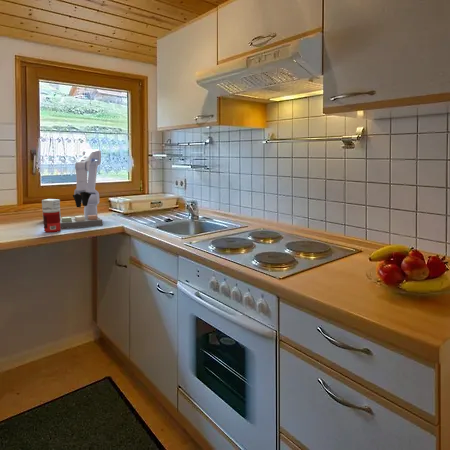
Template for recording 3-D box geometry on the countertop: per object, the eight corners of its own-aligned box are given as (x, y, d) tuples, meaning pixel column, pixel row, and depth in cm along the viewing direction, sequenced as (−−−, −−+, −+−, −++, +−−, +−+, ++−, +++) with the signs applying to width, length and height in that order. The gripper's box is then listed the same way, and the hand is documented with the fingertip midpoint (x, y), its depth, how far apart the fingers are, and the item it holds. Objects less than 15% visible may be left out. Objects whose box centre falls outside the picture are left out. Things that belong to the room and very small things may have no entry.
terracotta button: (87, 220, 227) (87, 215, 226) (95, 219, 229) (95, 214, 228) (89, 221, 223) (89, 216, 222) (97, 220, 225) (97, 215, 225)
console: (57, 225, 222) (57, 220, 221) (97, 221, 233) (97, 216, 233) (61, 228, 212) (60, 223, 211) (102, 225, 223) (102, 219, 223)
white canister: (42, 221, 235) (41, 200, 233) (50, 219, 242) (49, 198, 240) (53, 221, 234) (51, 200, 231) (61, 219, 241) (59, 199, 238)
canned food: (64, 230, 208) (62, 209, 206) (53, 233, 200) (51, 211, 198) (52, 229, 210) (50, 209, 208) (41, 232, 203) (39, 211, 201)
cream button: (75, 221, 223) (74, 216, 222) (83, 220, 225) (82, 215, 225) (76, 222, 219) (76, 217, 219) (84, 221, 222) (84, 216, 221)
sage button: (61, 222, 219) (61, 217, 219) (70, 221, 222) (69, 216, 221) (63, 223, 216) (62, 218, 215) (71, 223, 218) (71, 217, 217)
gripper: (69, 183, 223) (68, 207, 222) (81, 179, 213) (80, 204, 212) (81, 184, 228) (80, 208, 227) (93, 181, 218) (93, 205, 217)
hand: (81, 206), depth 220 cm, fingers open, 7 cm apart
